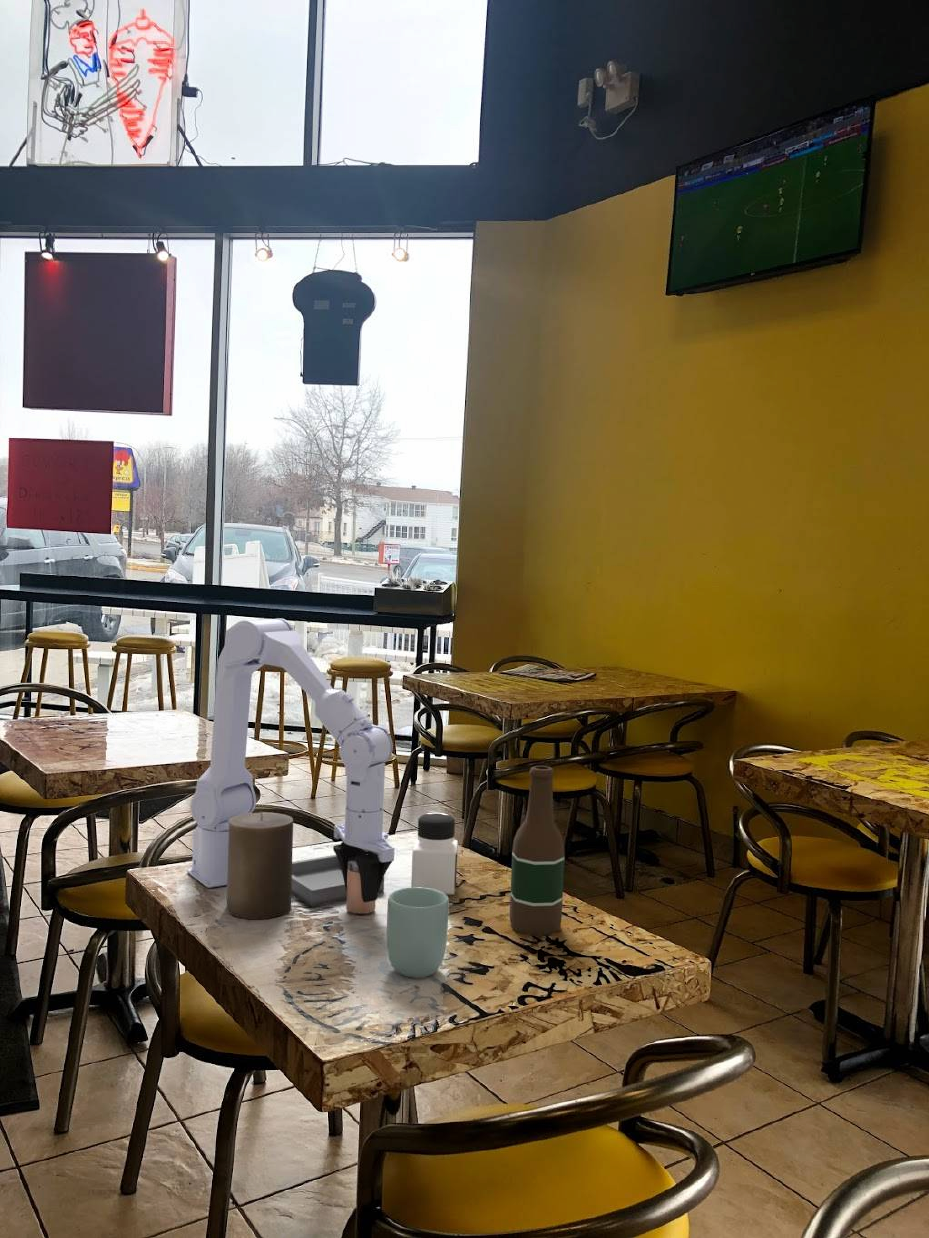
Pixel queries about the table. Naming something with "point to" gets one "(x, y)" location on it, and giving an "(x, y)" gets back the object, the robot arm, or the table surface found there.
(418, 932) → the cup
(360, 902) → the salt shaker
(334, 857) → the tray
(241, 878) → the pillar candle
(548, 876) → the beer bottle
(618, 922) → the table surface
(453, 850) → the medicine bottle
